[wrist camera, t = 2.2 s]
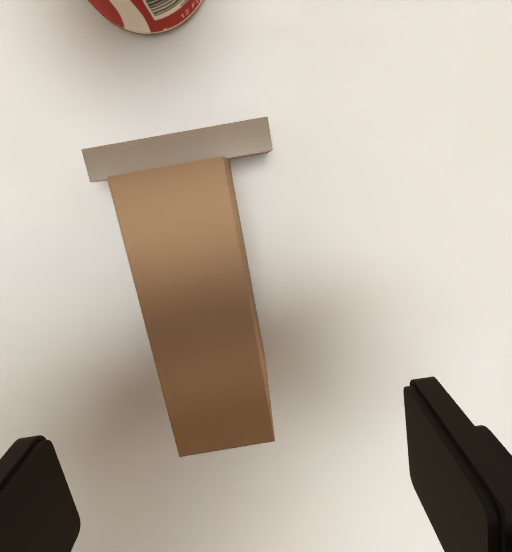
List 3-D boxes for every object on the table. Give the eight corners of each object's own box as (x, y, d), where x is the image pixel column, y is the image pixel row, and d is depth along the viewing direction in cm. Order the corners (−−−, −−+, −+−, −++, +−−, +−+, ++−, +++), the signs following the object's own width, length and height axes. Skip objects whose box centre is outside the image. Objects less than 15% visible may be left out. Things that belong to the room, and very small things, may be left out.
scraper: (300, 357, 20) (322, 433, 15) (163, 380, 21) (132, 464, 15) (263, 123, 18) (274, 102, 12) (104, 151, 18) (36, 144, 12)
